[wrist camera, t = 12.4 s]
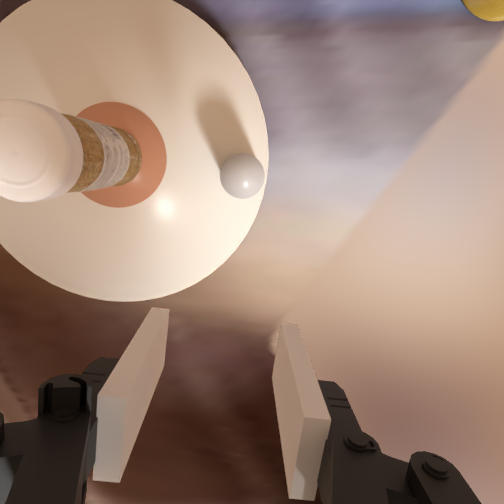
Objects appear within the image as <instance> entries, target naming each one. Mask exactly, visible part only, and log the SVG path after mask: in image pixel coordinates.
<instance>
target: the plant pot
mask: <svg viewBox="0 0 504 504" xmlns="http://www.w3.org/2000/svg"><path fill="white" fill-rule="evenodd" d="M462 1H463V3H464V4H465V6H466V7H467V9H468V10H469V11H470V12H471V13H472V14H474V15H475V16H477V17H479V18H481V19H484V20H487V21H502V20H504V0H462Z"/></svg>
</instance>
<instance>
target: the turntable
mask: <svg viewBox="0 0 504 504" xmlns="http://www.w3.org/2000/svg"><path fill="white" fill-rule="evenodd" d="M4 99H21V100H26V101H31V102H35V103H38V104H42V105H45V106H48V107H50V108H53V109H55V110H56V111H58V112H59V113H62V114H69V115H73V116H77V117H80V118H84V119H88V120H91V121H94V122H98V123H101V124H105V125H108V126H112V127H117V128H121V129H123V130H125V131H126V132H128V133H129V134H131V136H132V137H134V138H135V140H136V141H137V143H138V145H139V147H140V150H141V154H142V164H141V168H140V170H139V172H138V174H137V175H136V177H135V178H134V179H133V180H132V181H130V182H128V183H126V184H124V185H121V186H110V187H106V188H101V189H95V190H90V191H82V192H69V193H65V194H63V195H61V196H59V197H57V198H53V199H49V200H43V201H37V202H17V201H12V200H9V199H6V198H4V197H2V196H0V244H1V245H2V246H3V247H4V248H5V249H6V250H7V251H8V252H9V253H10V254H11V255H12V256H13V257H14V258H15V259H16V260H17V261H18V262H20V263H21V264H22V265H24V266H25V267H26V268H27V269H29V270H30V271H31V272H33V273H34V274H36V275H37V276H39V277H41V278H43V279H44V280H46V281H48V282H49V283H51V284H53V285H55V286H58V287H60V288H62V289H65V290H67V291H69V292H72V293H75V294H79V295H82V296H85V297H89V298H94V299H100V300H105V301H120V302H130V301H144V300H149V299H155V298H160V297H164V296H167V295H170V294H173V293H176V292H179V291H181V290H183V289H185V288H187V287H190V286H192V285H194V284H196V283H197V282H199V281H200V280H202V279H204V278H205V277H207V276H208V275H210V274H211V273H212V272H214V271H215V270H216V269H217V268H218V267H219V266H221V265H222V264H223V263H224V262H225V261H226V260H227V259H228V258H229V257H230V256H231V254H232V253H233V252H234V251H235V250H236V249H237V248H238V246H239V245H240V243H241V242H242V240H243V239H244V237H245V236H246V235H247V233H248V231H249V229H250V227H251V225H252V223H253V221H254V219H255V217H256V215H257V213H258V210H259V207H260V204H261V201H262V198H263V195H264V190H265V185H266V180H267V172H268V160H269V153H268V135H267V130H266V124H265V118H264V114H263V111H262V108H261V104H260V101H259V98H258V95H257V93H256V90H255V88H254V86H253V84H252V81H251V79H250V77H249V75H248V73H247V72H246V70H245V68H244V67H243V65H242V63H241V62H240V60H239V59H238V57H237V56H236V54H235V53H234V52H233V51H232V49H231V48H230V47H229V46H228V44H227V43H226V42H225V41H224V39H223V38H222V37H221V36H220V35H219V34H218V33H217V32H216V31H215V30H214V29H213V28H211V27H210V26H209V25H208V24H207V23H206V22H205V21H204V20H202V19H201V18H199V17H198V16H197V15H195V14H194V13H193V12H191V11H190V10H189V9H187V8H185V7H183V6H182V5H180V4H178V3H176V2H174V1H173V0H31V1H29V2H27V3H25V4H23V5H22V6H20V7H19V8H17V9H16V10H15V11H13V12H12V13H11V14H10V15H8V16H7V17H6V18H5V19H3V20H2V21H1V22H0V100H4Z"/></svg>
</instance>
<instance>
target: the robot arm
mask: <svg viewBox="0 0 504 504" xmlns="http://www.w3.org/2000/svg"><path fill="white" fill-rule="evenodd" d="M169 310H170V309H163V308H155V307H152V308H151V310H150V311H149V313H148V314H147V316H146V318H145V319H144V321H143V323H142V324H141V326H140V327H139V329H138V331H137V332H136V334H135V336H134V337H133V339H132V340H131V342H130V344H129V345H128V347H127V348H126V350H125V352H124V353H123V355H122V357H121V358H120V359H114V358H105V357H100V358H99V359H97V360H95V361H93V362H92V363H90V364H89V365H88V367H87V368H86V369H85V371H84V372H83V374H82V375H74V374H67V375H59V376H56V377H53V378H50V379H48V380H47V381H45V382H43V383H42V385H41V386H40V387H39V396H38V417H37V419H34V420H29V421H24V422H14V423H6V424H4V417H3V414H2V413H1V412H0V504H85V498H86V492H87V477H88V475H89V473H90V471H91V469H92V467H93V480H95V481H106V482H116V483H120V480H121V478H122V475H123V472H124V470H125V467H126V465H127V462H128V459H129V457H130V454H131V451H132V449H133V446H134V444H135V441H136V438H137V436H138V433H139V430H140V428H141V425H142V423H143V420H144V417H145V415H146V412H147V409H148V407H149V404H150V402H151V399H152V396H153V394H154V391H155V388H156V386H157V383H158V380H159V378H160V375H161V373H162V370H163V367H164V361H165V351H166V341H167V330H168V320H169ZM272 382H273V389H274V396H275V403H276V410H277V417H278V425H279V432H280V439H281V446H282V453H283V460H284V467H285V474H286V481H287V488H288V495H289V499H298V500H309V501H315V496H316V491H317V486H318V488H319V492H320V496H321V501H320V504H481V502H480V501H479V500H478V498H477V497H476V495H475V494H474V492H473V491H472V489H471V488H470V487H469V485H468V484H467V482H466V481H465V479H464V478H463V477H462V475H461V474H460V472H459V471H458V470H457V469H456V468H455V467H454V465H453V464H451V463H450V462H448V461H447V460H446V459H444V458H443V457H441V456H438V455H436V454H433V453H429V452H425V451H423V452H416V453H414V454H412V455H411V458H410V461H409V463H407V462H404V461H401V460H398V459H395V458H392V457H390V456H387V455H385V454H383V453H381V449H380V447H379V445H378V443H377V442H376V441H375V440H374V439H373V438H372V437H371V436H369V435H368V434H366V433H364V432H362V431H361V428H360V426H359V424H358V421H357V419H356V417H355V415H354V413H353V410H352V409H351V406H350V404H349V402H348V399H347V397H346V395H345V393H344V390H343V389H341V388H340V387H339V386H338V385H337V384H336V383H335V382H330V381H321V380H317V378H316V375H315V372H314V369H313V367H312V363H311V361H310V358H309V355H308V352H307V349H306V346H305V344H304V341H303V338H302V335H301V332H300V329H299V326H298V325H297V324H289V323H281V326H280V332H279V338H278V345H277V350H276V356H275V362H274V368H273V374H272ZM93 465H94V466H93Z"/></svg>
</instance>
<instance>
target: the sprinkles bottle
mask: <svg viewBox="0 0 504 504" xmlns="http://www.w3.org/2000/svg"><path fill="white" fill-rule="evenodd" d="M141 164H142V154H141V150H140V147H139V145H138V143H137V141H136V140H135V138H134V137H132V136H131V134H129V133H128V132H126V131H125V130H123V129H121V128H117V127H112V126H108V125H105V124H101V123H98V122H94V121H91V120H88V119H84V118H80V117H77V116H73V115H69V114H62V113H59V112H58V111H56V110H55V109H53V108H50V107H48V106H45V105H42V104H38V103H35V102H31V101H26V100H21V99H4V100H0V196H2V197H4V198H6V199H9V200H12V201H17V202H37V201H43V200H49V199H53V198H57V197H59V196H61V195H63V194H65V193H69V192H82V191H90V190H95V189H101V188H106V187H110V186H121V185H124V184H126V183H128V182H130V181H132V180H133V179H134V178H135V177H136V175H137V174H138V172H139V170H140V168H141Z"/></svg>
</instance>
